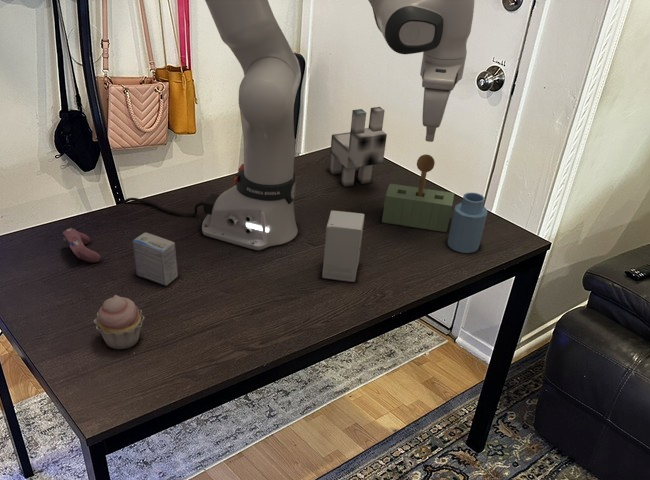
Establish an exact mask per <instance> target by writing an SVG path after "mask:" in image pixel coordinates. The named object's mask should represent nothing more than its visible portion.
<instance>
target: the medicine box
mask: <svg viewBox="0 0 650 480" xmlns="http://www.w3.org/2000/svg"><path fill="white" fill-rule="evenodd" d="M132 249H133V256H134V264H135V265H134V266H135V270H136V271H135V272H136V275H137V276H138V277H141V278H144V279H146V280H149V281H152V282H154V283H157V284H159V285H161V286H165V287H166V286H168V285H169V284H171V283H172V282H173V281H174V280H175V279H177V278H179V273H178V262H177V251H176V243H175V242H174V241H172V240H169V239H167V238H163V237H161V236H158V235H155V234H153V233H149V232H147V231H145V232H143V233H142V234H140V235H139V236H137V237H136V238H135V239H133V240H132Z"/></svg>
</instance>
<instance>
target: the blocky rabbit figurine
mask: <svg viewBox="0 0 650 480" xmlns="http://www.w3.org/2000/svg"><path fill="white" fill-rule="evenodd" d="M385 113H386V112H385V109H384V108H382V107H381V106H374V107H370V111H369V120H368V127H366V120H367V112H366V110H364V109H363V108H359V109H353V110H352V112H351V122H350V131H348V132H343V133H333V134H331V139H330V140H331V141H330V151H329V162H328V163H329V165H328V172H330V174H332V175H339V174H340V176H341V177H340V184H341V185H343V187H351V186H354V183H355V176H356V172H358V175H357V181H358V182H359V183H360V184H369V183H371V181H372V173H373V166H374V165H380V164H384V158H385V151H386V144H387V138H388V137H387V136H388V133H386V132H385V131H384V130H383V125H384V117H385Z"/></svg>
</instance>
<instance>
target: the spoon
mask: <svg viewBox="0 0 650 480" xmlns="http://www.w3.org/2000/svg"><path fill="white" fill-rule="evenodd" d="M435 165H436V161H435V159H434V157H433V156H432V155H430V154H427V153H426V154H422V155H420V156H419V157H418V158H417V160H416V167H417V170H419V171H420V179H419V184H418V188H419V189H418V195H417V196H421V197H422V196H423V191H424V189H425V184H426V180H427V179H426V178H427V175H428V174H427V173H429V172H431V171H432V170H433V169H434V167H435Z"/></svg>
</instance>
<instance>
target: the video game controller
mask: <svg viewBox="0 0 650 480" xmlns="http://www.w3.org/2000/svg"><path fill="white" fill-rule="evenodd" d="M62 235H63V241H64V243H66V244H67V243H69V248H70V249H71V252H72V253H73V254H74V255H75V256H76V257H77V258H78V259H80V260H81V261H82V260H83V261H86V262H89V263H98V262H100V261H101V255H100V254H99V253H98V252H97V251H94V250H91V248H88V247H87V246H85V245H88V244H89V243H90V242H91V240H90V239H91V238H90V237H89V236H88V235H87V234H85V233H84V232H80V231H78V230H77V229H75V228H72V227H70V228H67V229H65V230H64V231H62Z"/></svg>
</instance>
